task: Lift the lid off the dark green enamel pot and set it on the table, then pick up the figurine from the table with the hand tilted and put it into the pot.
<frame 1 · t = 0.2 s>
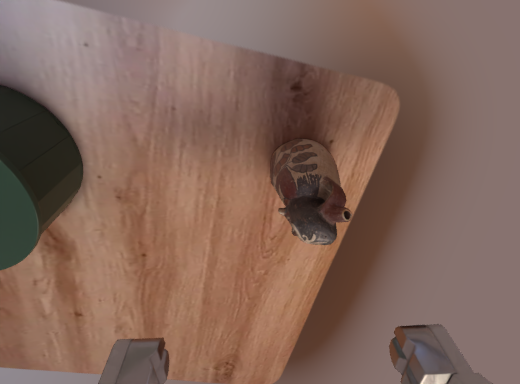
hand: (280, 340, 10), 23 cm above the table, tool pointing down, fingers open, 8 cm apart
pot: (8, 154, 31), on the table
figurine: (299, 166, 33), on the table
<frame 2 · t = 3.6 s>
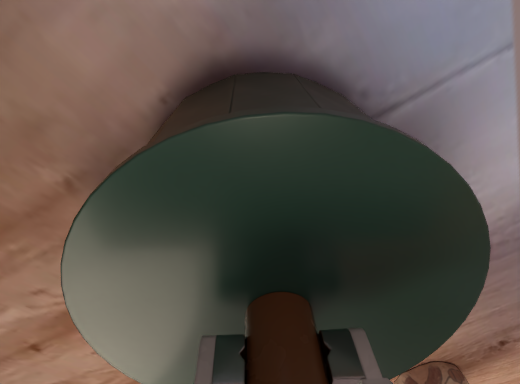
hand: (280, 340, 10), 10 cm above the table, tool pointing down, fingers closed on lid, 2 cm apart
lid: (277, 300, 12), point 9 cm above the table, touching gripper, pot
pot: (264, 191, 19), on the table
figurine: (426, 377, 33), on the table
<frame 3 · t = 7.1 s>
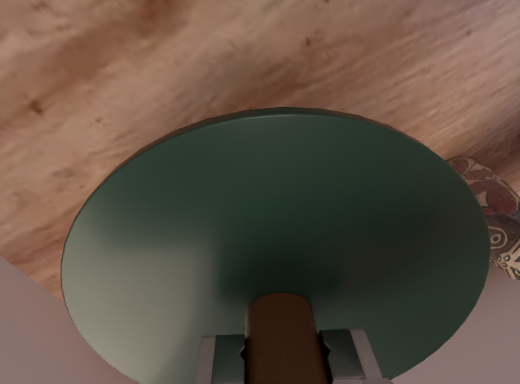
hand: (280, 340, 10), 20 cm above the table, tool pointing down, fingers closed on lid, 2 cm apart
lid: (277, 301, 12), point 18 cm above the table, touching gripper
figurine: (448, 186, 31), on the table
when the fingers open (2 cm above the table, at t = 10.4 s): lid stays where it is, point 1 cm above the table.
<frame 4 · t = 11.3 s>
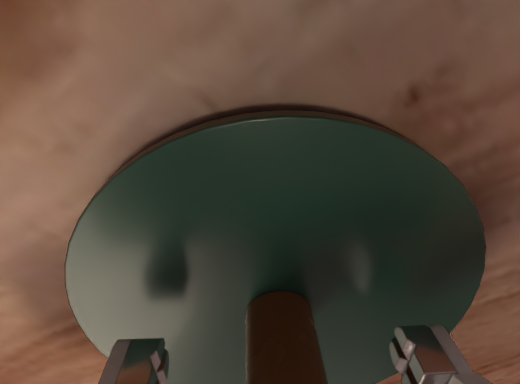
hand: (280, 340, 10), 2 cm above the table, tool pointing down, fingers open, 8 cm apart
lid: (276, 299, 12), point 1 cm above the table
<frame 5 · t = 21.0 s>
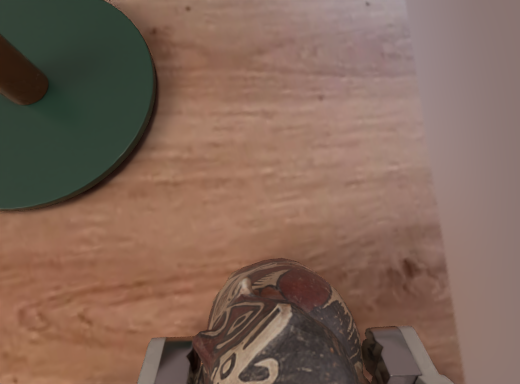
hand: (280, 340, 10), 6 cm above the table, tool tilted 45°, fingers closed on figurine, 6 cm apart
lid: (34, 92, 19), point 1 cm above the table
figurine: (273, 323, 17), on the table, touching gripper
when the fingers open (7 cm above the table, at t = 32.5 s): figurine stays where it is, resting on pot.
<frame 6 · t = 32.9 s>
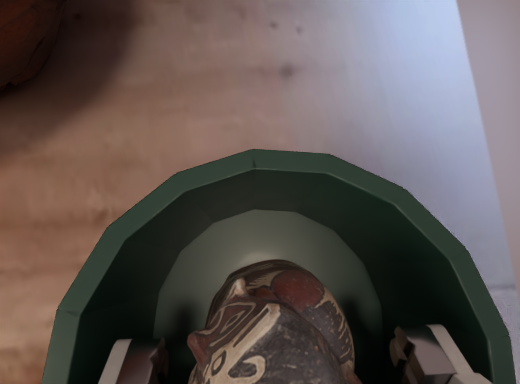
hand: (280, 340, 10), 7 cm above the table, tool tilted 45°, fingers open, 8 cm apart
pot: (268, 320, 17), on the table
figurine: (270, 322, 17), resting on pot
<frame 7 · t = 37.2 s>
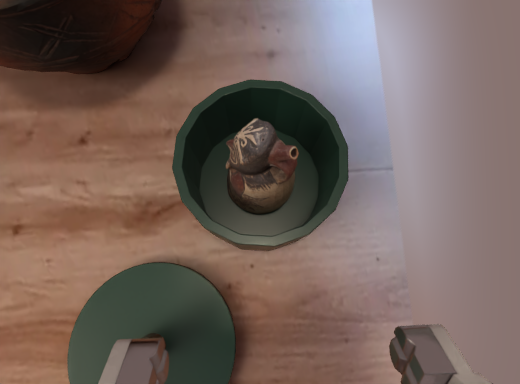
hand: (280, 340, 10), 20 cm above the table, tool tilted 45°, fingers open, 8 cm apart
lid: (154, 346, 28), point 1 cm above the table
pot: (259, 183, 33), on the table
bowl: (92, 29, 37), on the table
figurine: (260, 183, 33), resting on pot
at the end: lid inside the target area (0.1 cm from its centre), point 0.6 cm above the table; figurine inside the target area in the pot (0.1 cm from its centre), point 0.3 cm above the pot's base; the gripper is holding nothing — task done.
